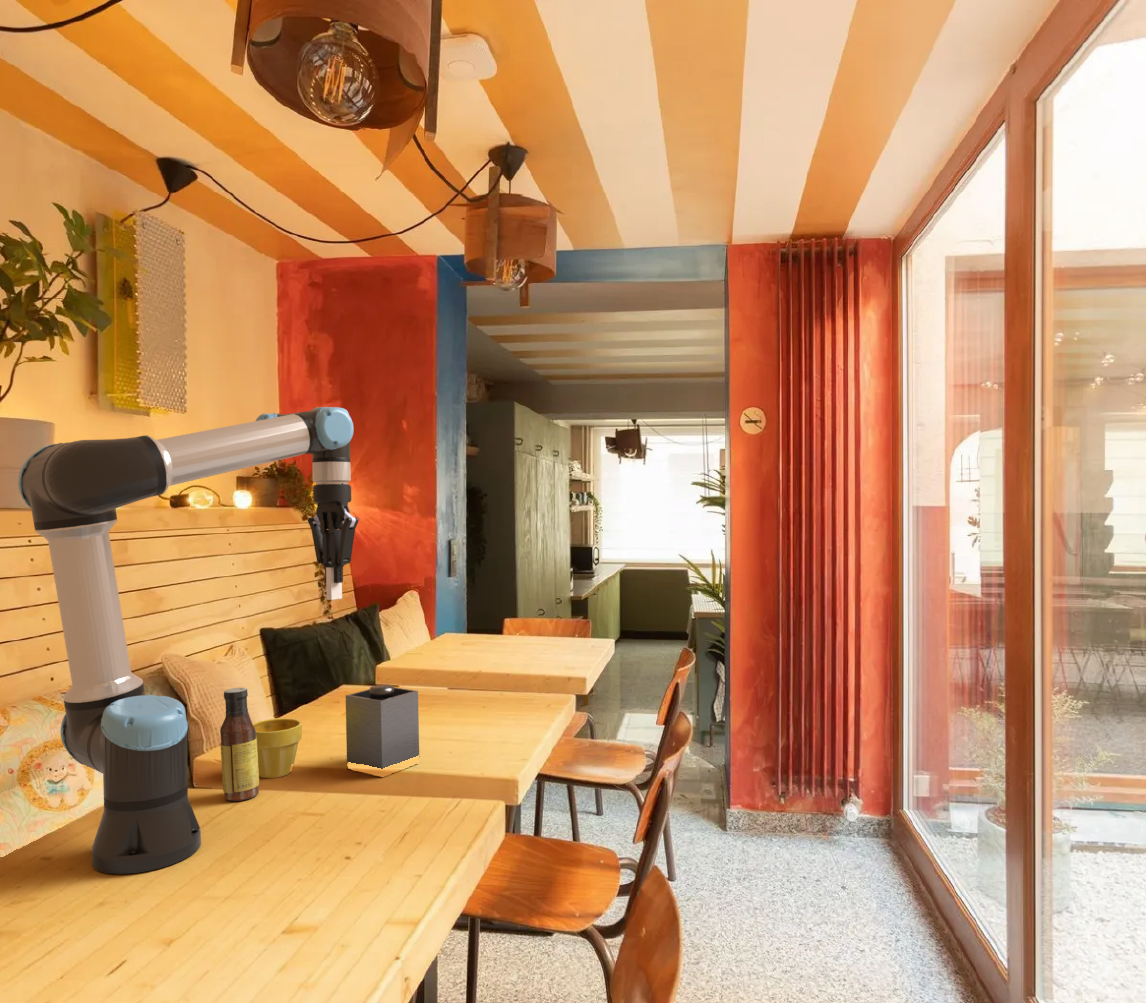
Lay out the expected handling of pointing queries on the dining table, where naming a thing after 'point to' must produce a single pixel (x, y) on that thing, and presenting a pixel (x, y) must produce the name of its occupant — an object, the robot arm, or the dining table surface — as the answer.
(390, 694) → the plunger
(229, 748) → the sauce bottle
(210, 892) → the dining table surface
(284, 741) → the plant pot
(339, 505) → the robot arm
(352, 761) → the dark grey rectangular bin
